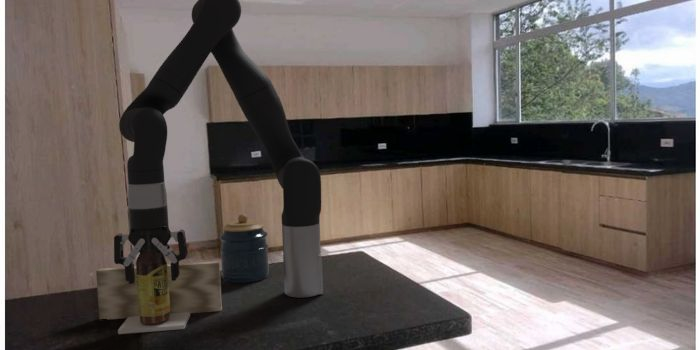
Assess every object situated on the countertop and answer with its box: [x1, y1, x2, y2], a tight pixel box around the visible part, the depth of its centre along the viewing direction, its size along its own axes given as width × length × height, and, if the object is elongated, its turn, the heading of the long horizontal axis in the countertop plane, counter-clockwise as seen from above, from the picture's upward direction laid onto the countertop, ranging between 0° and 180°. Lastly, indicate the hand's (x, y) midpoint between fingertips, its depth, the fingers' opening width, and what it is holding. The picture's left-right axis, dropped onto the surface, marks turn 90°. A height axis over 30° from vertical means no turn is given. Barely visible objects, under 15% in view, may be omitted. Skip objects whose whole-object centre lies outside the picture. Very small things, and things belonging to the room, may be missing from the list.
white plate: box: [117, 312, 191, 335], centre depth 113 cm, size 13×8×1 cm, turn 98°
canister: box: [219, 213, 270, 284], centre depth 148 cm, size 13×13×18 cm
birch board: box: [95, 260, 223, 320], centre depth 119 cm, size 26×2×11 cm, turn 98°
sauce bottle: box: [135, 230, 170, 325], centre depth 113 cm, size 6×6×20 cm
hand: (153, 281), depth 113 cm, fingers open, 8 cm apart
